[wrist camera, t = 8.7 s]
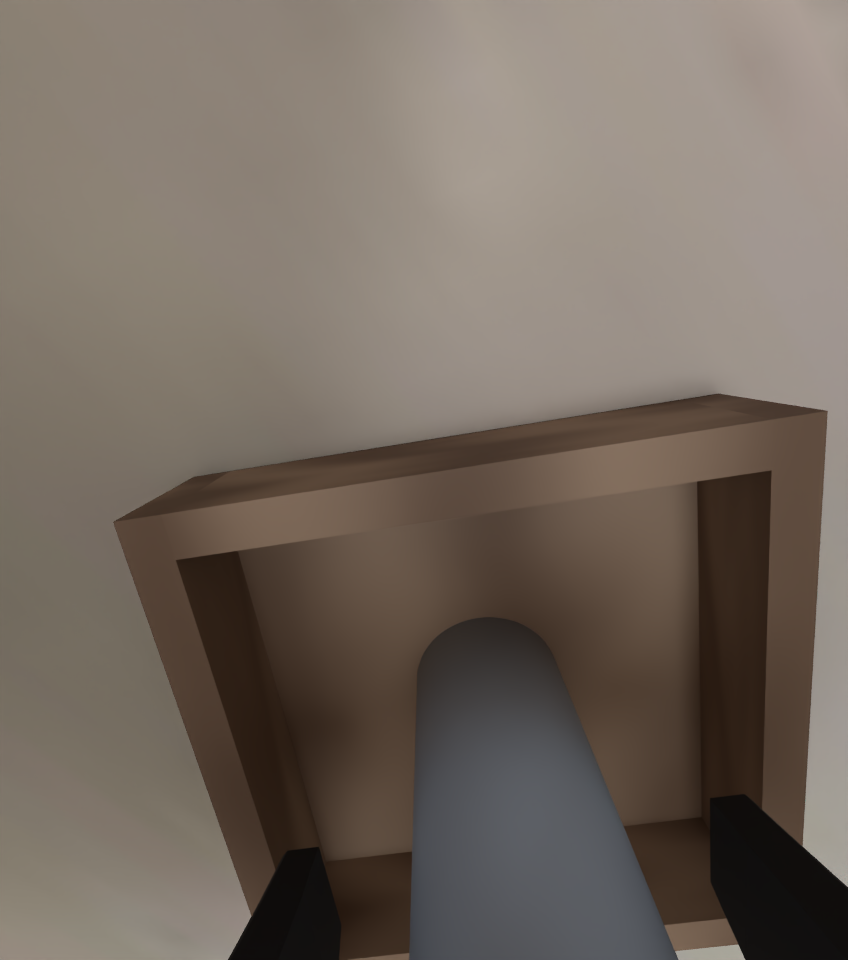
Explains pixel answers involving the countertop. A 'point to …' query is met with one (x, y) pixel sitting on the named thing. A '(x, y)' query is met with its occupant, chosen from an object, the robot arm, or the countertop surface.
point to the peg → (516, 814)
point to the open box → (501, 594)
